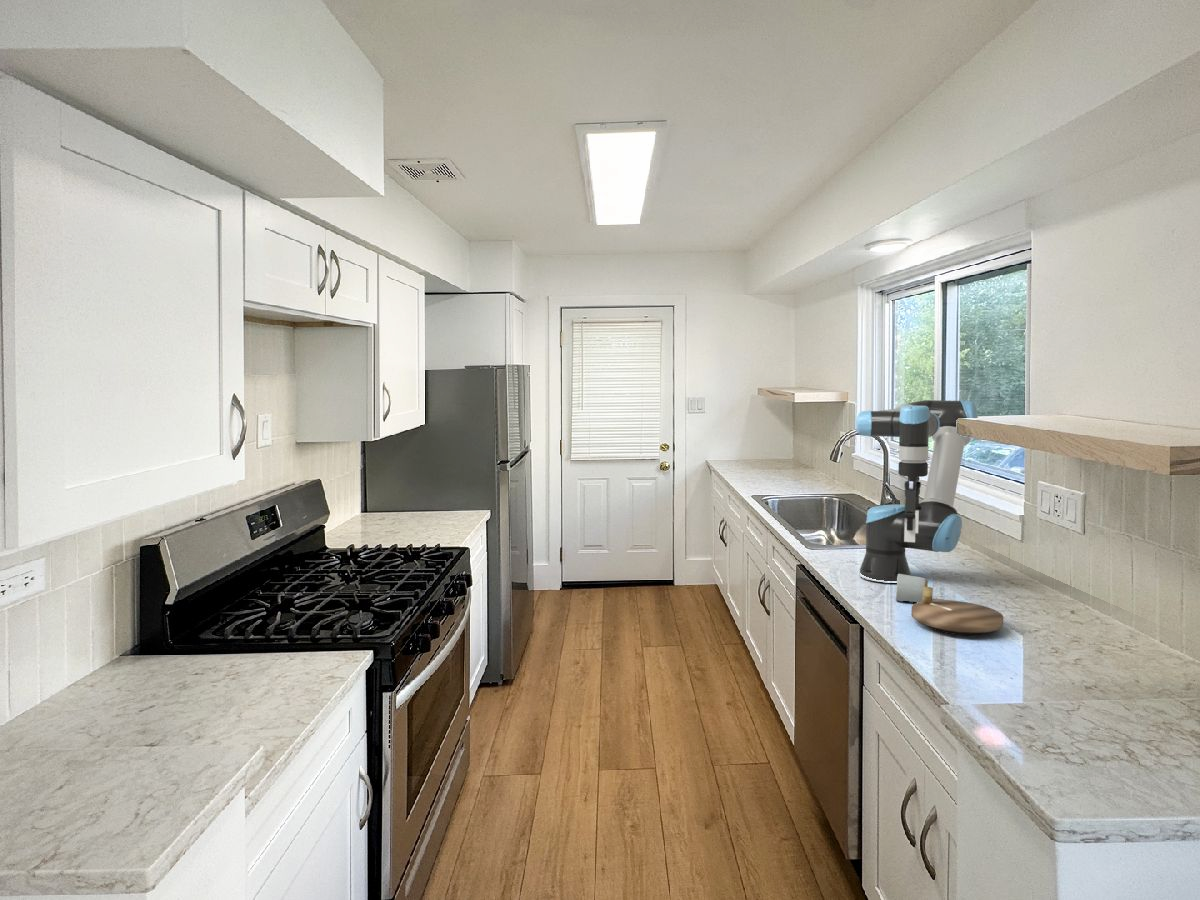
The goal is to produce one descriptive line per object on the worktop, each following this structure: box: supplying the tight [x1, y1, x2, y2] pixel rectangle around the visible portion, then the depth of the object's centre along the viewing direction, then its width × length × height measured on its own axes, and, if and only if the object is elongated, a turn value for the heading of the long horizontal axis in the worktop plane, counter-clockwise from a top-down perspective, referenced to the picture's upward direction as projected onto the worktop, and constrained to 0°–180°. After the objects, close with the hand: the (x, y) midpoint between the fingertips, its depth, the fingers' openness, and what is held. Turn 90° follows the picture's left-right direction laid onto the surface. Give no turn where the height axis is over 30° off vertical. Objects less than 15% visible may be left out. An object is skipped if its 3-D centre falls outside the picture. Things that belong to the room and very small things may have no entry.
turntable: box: [910, 586, 1004, 633], centre depth 188 cm, size 21×21×6 cm
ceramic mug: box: [895, 574, 929, 603], centre depth 211 cm, size 11×8×8 cm
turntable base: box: [928, 626, 986, 636], centre depth 188 cm, size 14×14×2 cm
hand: (911, 537), depth 207 cm, fingers open, 13 cm apart
